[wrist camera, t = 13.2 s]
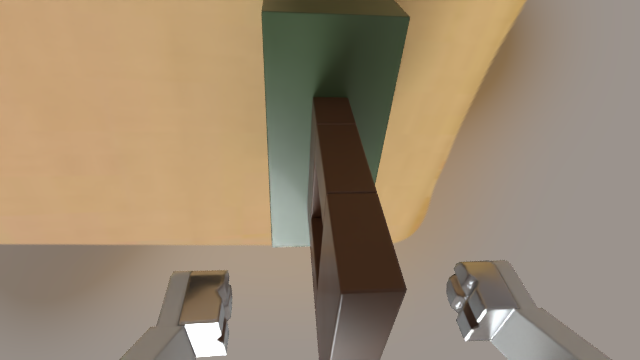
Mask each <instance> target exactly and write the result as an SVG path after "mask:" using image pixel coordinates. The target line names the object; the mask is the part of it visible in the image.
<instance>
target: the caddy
mask: <svg viewBox="0 0 640 360" xmlns="http://www.w3.org/2000/svg"><path fill="white" fill-rule="evenodd" d="M409 20H410V17H409V15H408V14H407V13H406V12H405V11H404V10H403V9H402V8H401V7H400V6H399V5H398V4H397V3H396V2H395V1H394V0H263V6H262V34H263V56H264V78H265V100H266V123H267V145H268V167H269V189H270V212H271V234H272V247H300V246H301V247H305V246H310V250H311V263H312V276H313V289H314V300H315V309H316V311H315V314H316V326H317V340H318V353H319V360H380V358H381V355H382V353H383V350H384V348H385V345H386V342H387V340H388V337H389V335H390V332H391V329H392V327H393V324H394V322H395V319H396V317H397V314H398V311H399V309H400V306H401V304H402V301H403V298H404V296H405V293H406V290H407V289H406V285H405V282H404V279H403V276H402V272H401V269H400V266H399V263H398V259H397V256H396V253H395V250H394V246H393V243H392V240H391V236H390V233H389V230H388V227H387V223H386V220H385V217H384V214H383V210H382V207H381V204H380V201H379V197H378V194H377V191H376V187H375V182H376V177H377V172H378V168H379V163H380V158H381V153H382V148H383V144H384V139H385V134H386V129H387V125H388V120H389V115H390V110H391V106H392V101H393V96H394V91H395V86H396V82H397V77H398V72H399V67H400V63H401V58H402V53H403V48H404V44H405V39H406V34H407V29H408V25H409Z"/></svg>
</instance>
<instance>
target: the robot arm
mask: <svg viewBox="0 0 640 360" xmlns="http://www.w3.org/2000/svg"><path fill="white" fill-rule="evenodd" d="M454 271H455V274H454V275H452V276H451V277H450V278H449V280H448V282H447V297H448V301H449V303H450V306H451V307H452V308H453V309H454V310H455V311H456V312H457V313H458V316H457V319H456V321H457V323H458V326H459V328H460V331H461V333H462V336H463V338H464V341H483V340H484V341H485V340H492V341H491V342H492V343H493V344H494V345H495V347H496V348H497V349H498V350H499V351H500V352H501V353H502V354H503V355H504V356H505V357H506V358H507V359H508V360H612V359H610V358H609V357H607V356H606V355H605V354H603V353H602V352H601V351H599V350H598V349H597V348H595V347H594V346H593V345H591V344H590V343H589V342H587V341H586V340H585V339H583V338H582V337H580V336H579V335H578V334H577V333H575V332H574V331H573V330H571V329H570V328H568V327H567V326H566V325H564V324H563V323H562V322H560V321H559V320H558V319H556V318H555V317H554V316H552V315H551V314H550V313H548V312H547V311H546V310H544V309H543V308H537V306H536V304H535V303H534V301H533V300H532V298H531V296H530V295H529V293H528V291H527V290H526V288H525V286H524V285H523V283H522V282H521V280H520V278H519V277H518V275H517V273H516V272H515V270H514V268H513V267H512V265H511V264H510V263H509V262H508V261H505V260H500V261H472V262H471V261H470V262H459V263H457V264H456V266H455V267H454ZM231 310H232V289H231V285H229V273H228V270H217V271H175V272H173V274H172V275H171V277H170V280H169V283H168V287H167V290H166V294H165V297H164V301H163V305H162V308H161V312H160V315H159V319H158V322H157V325H156V327H150V328H149V329H148V330H147V331H146V333H144V334H143V336H142V337H141V338H140V339H139V340H138V341H137V342H136V343H135V344H134V345H133V346H132V347H131V348H130V349H129V350H128V351H127V352H126V353H125V354H124V355H123V356H122V358H120V360H196V358H195V357H205V356H216V355H226V353H227V345H228V337H229V329H228V324H227V321H228V320H229V319H230V317H231Z"/></svg>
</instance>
